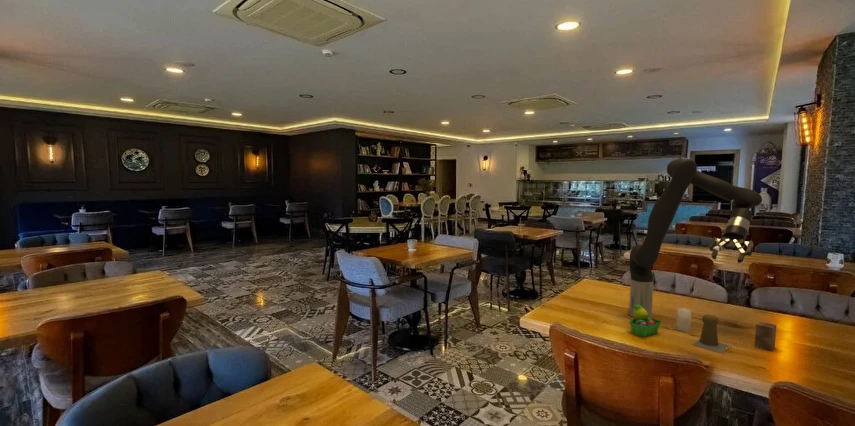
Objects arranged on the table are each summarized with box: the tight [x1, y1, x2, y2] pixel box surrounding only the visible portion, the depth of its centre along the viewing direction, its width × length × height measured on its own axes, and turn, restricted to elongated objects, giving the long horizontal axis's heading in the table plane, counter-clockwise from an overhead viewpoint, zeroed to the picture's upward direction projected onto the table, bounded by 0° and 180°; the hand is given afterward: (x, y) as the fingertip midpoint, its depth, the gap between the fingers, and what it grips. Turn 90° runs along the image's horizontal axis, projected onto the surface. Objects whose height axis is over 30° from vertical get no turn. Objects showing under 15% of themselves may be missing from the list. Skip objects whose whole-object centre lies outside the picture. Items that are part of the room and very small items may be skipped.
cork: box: [699, 314, 719, 346], centre depth 155 cm, size 6×6×11 cm
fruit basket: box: [628, 305, 662, 338], centre depth 166 cm, size 11×9×11 cm
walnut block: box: [754, 321, 777, 352], centre depth 151 cm, size 5×5×9 cm
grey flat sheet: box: [691, 338, 732, 354], centre depth 153 cm, size 10×10×1 cm
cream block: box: [675, 306, 692, 333], centre depth 168 cm, size 5×5×9 cm
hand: (726, 260), depth 163 cm, fingers open, 8 cm apart
